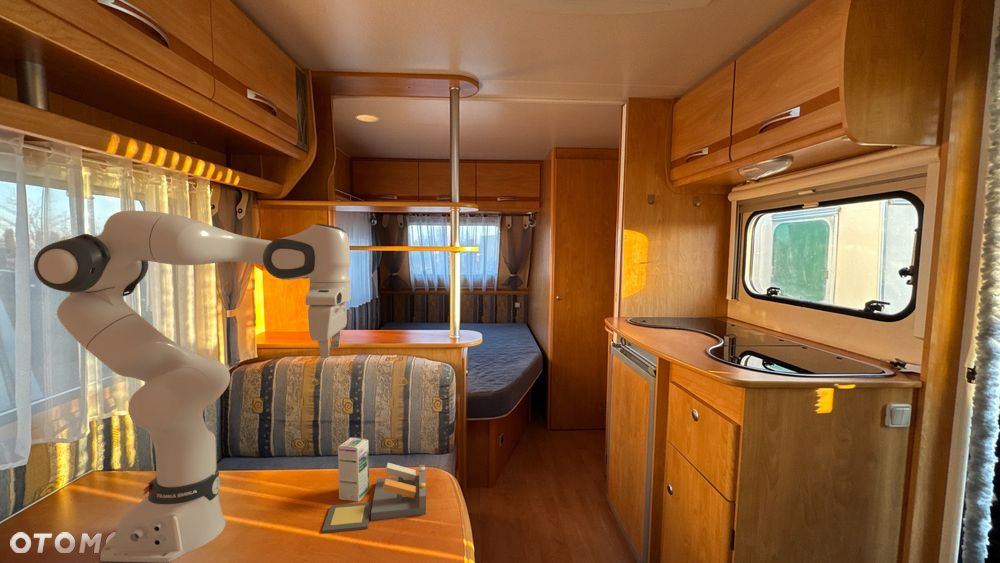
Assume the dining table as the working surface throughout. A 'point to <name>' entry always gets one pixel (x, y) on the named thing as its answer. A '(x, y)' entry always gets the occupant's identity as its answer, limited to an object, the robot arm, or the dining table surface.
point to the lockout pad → (347, 517)
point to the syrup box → (353, 469)
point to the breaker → (400, 471)
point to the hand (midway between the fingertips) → (330, 352)
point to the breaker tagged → (399, 488)
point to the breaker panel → (399, 499)
